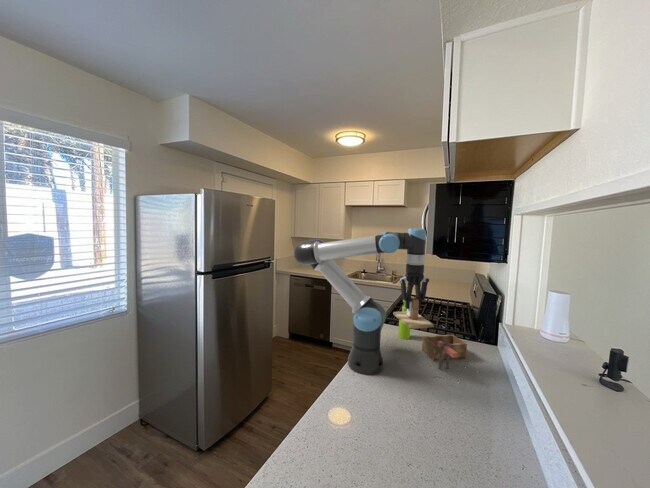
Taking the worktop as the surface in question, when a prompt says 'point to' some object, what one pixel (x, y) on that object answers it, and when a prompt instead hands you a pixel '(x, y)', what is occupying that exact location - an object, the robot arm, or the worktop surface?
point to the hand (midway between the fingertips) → (412, 315)
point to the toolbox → (437, 352)
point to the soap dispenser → (403, 326)
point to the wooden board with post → (413, 317)
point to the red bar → (448, 350)
